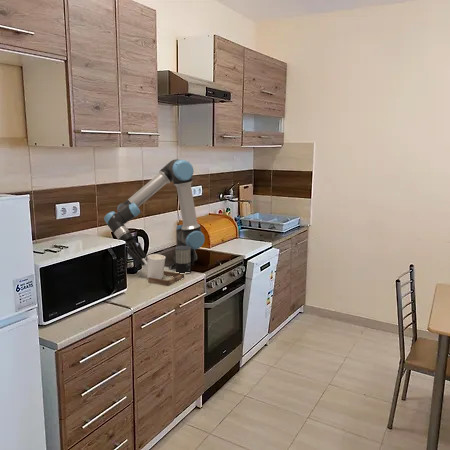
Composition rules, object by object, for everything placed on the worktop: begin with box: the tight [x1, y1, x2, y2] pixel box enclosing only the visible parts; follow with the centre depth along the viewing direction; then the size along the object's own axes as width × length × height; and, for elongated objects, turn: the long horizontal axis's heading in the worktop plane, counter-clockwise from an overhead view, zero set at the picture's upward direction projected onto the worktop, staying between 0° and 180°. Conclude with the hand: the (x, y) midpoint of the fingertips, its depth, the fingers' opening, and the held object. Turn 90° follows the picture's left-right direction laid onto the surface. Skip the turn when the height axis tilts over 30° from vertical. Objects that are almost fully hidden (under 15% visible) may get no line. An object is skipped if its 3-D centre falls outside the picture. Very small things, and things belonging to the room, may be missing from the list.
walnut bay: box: [147, 270, 185, 287], centre depth 233 cm, size 15×13×2 cm
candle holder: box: [146, 253, 166, 279], centre depth 235 cm, size 10×10×12 cm
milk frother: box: [168, 246, 195, 273], centre depth 251 cm, size 14×16×15 cm
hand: (148, 269), depth 237 cm, fingers closed
